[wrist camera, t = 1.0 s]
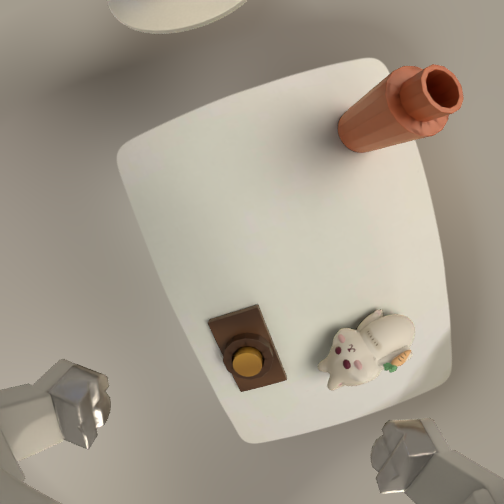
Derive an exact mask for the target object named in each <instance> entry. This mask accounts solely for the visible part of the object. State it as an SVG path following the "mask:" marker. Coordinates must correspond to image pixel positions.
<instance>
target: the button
mask: <svg viewBox="0 0 504 504" xmlns="http://www.w3.org/2000/svg"><path fill="white" fill-rule="evenodd" d="M233 368H234V370H235V371H236V372H237V373H238V374H240V375H242V376H246V377H250V376H254V375H256V374H258V373H259V372H260V370H261V368H262V355H261V353H260V352H259V351H258V350H257V349H255V348H253V347H243V348H240V349H239V350H237V351H236V353H235V355H234V359H233Z"/></svg>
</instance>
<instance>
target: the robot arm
mask: <svg viewBox="0 0 504 504" xmlns="http://www.w3.org/2000/svg"><path fill="white" fill-rule="evenodd" d="M108 387H109V383H108V377H107V376H106V375H104V374H101V373H98V372H96V371H93V370H91V369H88V368H85V367H83V366H80V365H78V364H75V363H72V362H70V361H67V360H65V359H61V360H59V361H58V362H57V363H56V364H55V365H54V366H52V367H51V368H50V369H49V370H48V371H47V372H46V373H45V374H44V375H43V376H42V377H41V378H40V379H39V380H38V381H37V382H36V383H34V385H30V384H24V385H20V386H16V387H11V388H7V389H2V390H0V504H62V503H60V502H57V501H56V500H54V499H52V498H50V497H48V496H46V495H45V494H43V493H41V492H39V491H38V490H36V489H34V488H32V487H31V486H29V485H27V484H26V483H24V482H23V481H24V479H25V476H24V473H23V471H22V470H21V468H20V466H19V464H18V461H20V460H23V459H25V458H27V457H29V456H32V455H34V454H36V453H38V452H41V451H43V450H45V449H47V448H49V447H51V446H54V445H56V444H58V443H60V442H62V441H63V439H64V440H66V441H69V442H71V443H74V444H76V445H78V446H81V447H83V448H86V449H89V448H90V446H91V445H92V443H93V442H94V440H95V438H96V437H97V429H96V428H99V427H101V426H104V424H105V423H106V421H107V419H108V416H109V413H110V408H111V401H110V397H109V396H108V394H107V393H106V390H107V388H108ZM382 432H383V435H382V436H381V437H379V438H378V439H376V441H375V443H374V445H373V446H372V450H371V463H372V467H373V468H374V469H375V470H377V471H378V472H379V473H378V474H377V476H376V480H377V483H378V487H379V490H380V493H392V492H402V491H405V492H404V493H405V494H406V495H407V496H408V497H409V498H411V500H413V501H414V502H415V503H416V504H504V479H503V478H501V477H500V476H498V475H496V474H494V473H493V472H491V471H489V470H488V469H486V468H484V467H482V466H481V465H479V464H477V463H476V462H474V461H472V460H471V459H469V458H467V457H466V456H464V455H462V454H461V453H459V452H458V451H456V450H452V451H451V449H450V447H449V445H448V444H447V442H446V440H445V438H444V437H443V435H442V433H441V432H440V430H439V428H438V427H437V425H436V423H435V422H434V420H433V419H431V418H422V419H409V420H389V421H387V422H386V423H385V425H384V427H383V428H382Z"/></svg>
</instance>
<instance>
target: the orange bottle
mask: <svg viewBox="0 0 504 504" xmlns="http://www.w3.org/2000/svg"><path fill="white" fill-rule="evenodd" d="M462 102H463V92H462V87H461V85H460V83H459V81H458V80H457V78H456V76H455V75H454V74H453V73H452V72H450V71H449V70H448V69H446V68H445V67H444V66H439V65H431V66H429V67H427V68H425V69H420V68H418V67H415V66H403V67H401V68H399V69H397V70H395V71H393V72H392V73H391V74H389V75H388V76H387V77H386V78H385V79H383V80H382V81H381V82H380V83H379V84H378V85H376V86H375V87H374V88H373V89H372V90H370V91H369V92H368V93H367V94H366V95H365V96H363V97H362V98H361V99H360V100H359V101H358V102H356V103H355V104H354V105H353V106H352V107H351V108H350V109H348V110H347V111H346V112H345V113H344V114H343V115H342V117H341V118H340V120H339V123H338V134H339V137H340V139H341V141H342V142H343V144H344V145H345V146H346V147H347V148H349V149H350V150H352V151H355V152H360V153H363V152H369V151H373V150H377V149H381V148H385V147H388V146H392V145H396V144H400V143H404V142H408V141H412V140H416V139H420V138H425V137H429V136H433V135H435V134H436V133H438V132H440V131H441V130H442V129H443V128H444V126H445V124H446V122H447V120H448V116H449V114H452V113H454V112H456V111H457V110H459V109H460V108H461V105H462Z"/></svg>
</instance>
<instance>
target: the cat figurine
mask: <svg viewBox="0 0 504 504" xmlns="http://www.w3.org/2000/svg"><path fill="white" fill-rule="evenodd" d="M414 336H415V327H414V324H413V322H412V321H411V320H410V319H409V318H408V317H406V316H403V315H398V314H393V315H387V316H384V317H383V313H382V309H379V310H376V311H375V312H374V313H372V314H371V315H369V316H367V317H366V318H365V319H364V320H363V321H362V322H361V323H360V325H359V326H358V328H357V330H355V329H354V330H353V329H350V328H342V329H340V330H339V331H338V333H337V334H336V335H335V336H334V338H333V344H332V347H331V350H330V353H329V355H328V357H327V358H325V359H324V360H322V361H321V362H320V363H319V364H318V369H319V370H320V371H323V372H328V373H330V378H329V381H328V385H327V386H328V388H329V389H330V390H335V389H337V388H339V387H342V386H344V385H346V386H357V385H361V384H364V383H367V382H369V381H372V380H373V379H375V378H376V377H378V375H379V374H380V372H381V370H383V369H384V370H386V371H387V370H389V372H390V373H391V372H394V371H396V369H397V366H401V365H402V364H403V363H404V362H406V361H407V360H409V359H410V358H411V357H412V352H411V350H410V346H411V344H412V342H413V340H414Z"/></svg>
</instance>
